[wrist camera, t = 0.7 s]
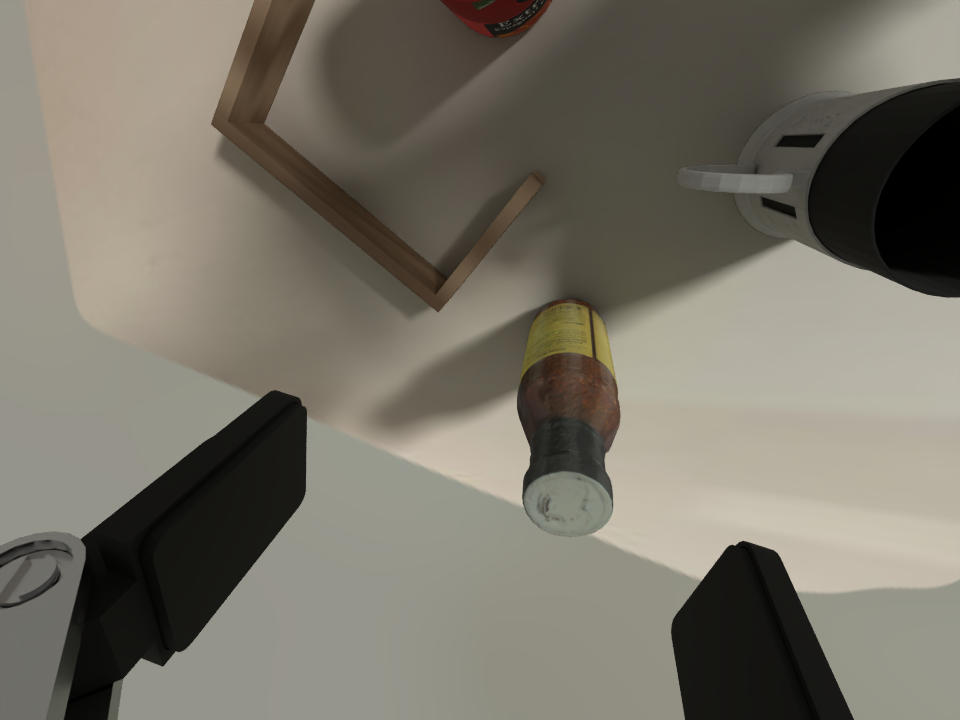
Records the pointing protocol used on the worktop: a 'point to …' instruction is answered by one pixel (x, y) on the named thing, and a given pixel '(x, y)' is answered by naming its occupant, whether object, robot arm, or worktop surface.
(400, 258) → the wooden corner frame
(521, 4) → the canned food
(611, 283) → the worktop surface
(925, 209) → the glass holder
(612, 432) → the sauce bottle
